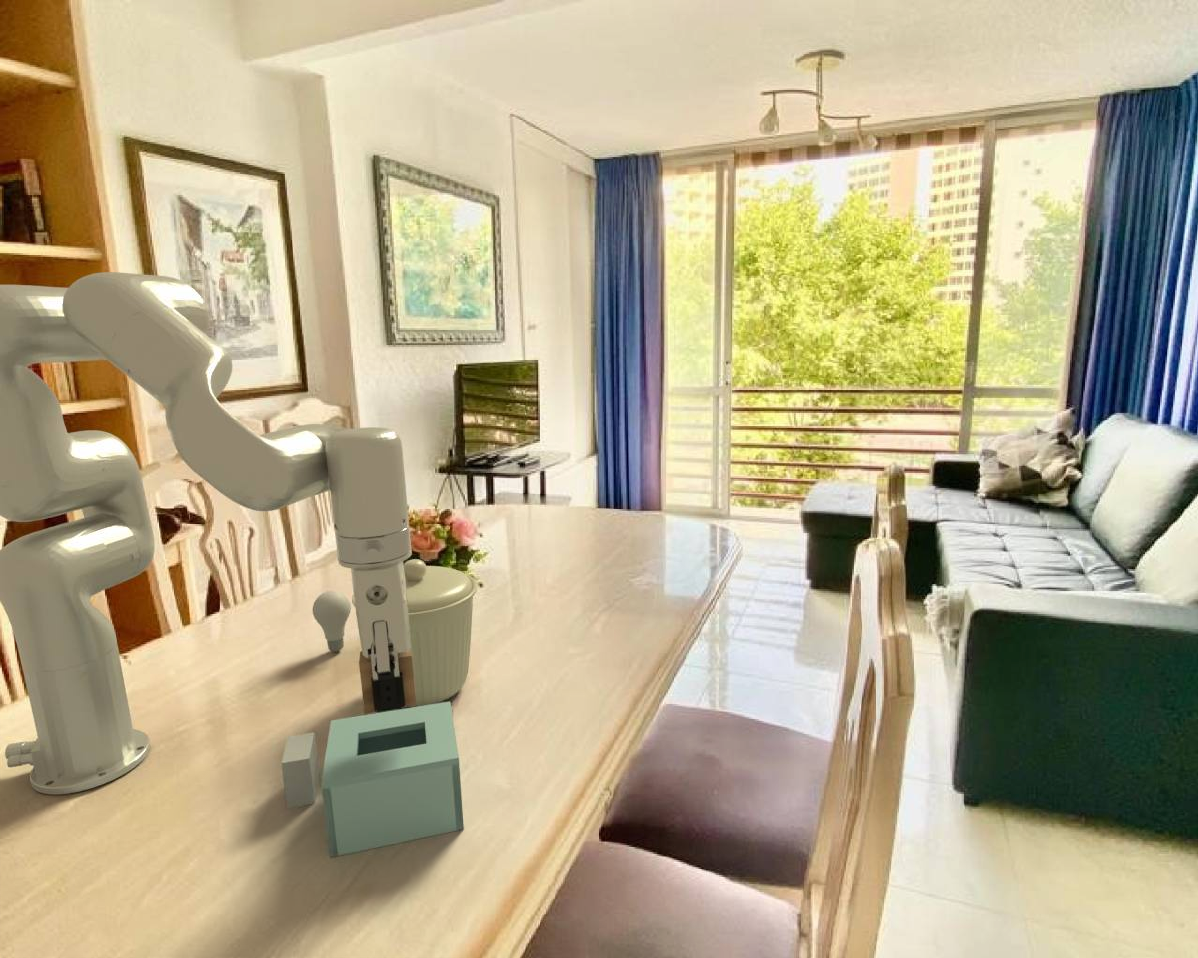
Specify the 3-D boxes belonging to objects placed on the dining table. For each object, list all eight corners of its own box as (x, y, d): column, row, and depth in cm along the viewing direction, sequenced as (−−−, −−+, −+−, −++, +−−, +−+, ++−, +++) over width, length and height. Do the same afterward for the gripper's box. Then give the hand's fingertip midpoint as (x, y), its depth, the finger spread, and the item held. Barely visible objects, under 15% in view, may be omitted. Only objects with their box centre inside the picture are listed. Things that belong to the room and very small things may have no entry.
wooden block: (364, 713, 75) (359, 663, 74) (365, 700, 78) (360, 651, 77) (416, 704, 77) (411, 655, 76) (415, 691, 80) (411, 643, 78)
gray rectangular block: (314, 803, 81) (309, 758, 80) (287, 808, 81) (281, 763, 79) (319, 774, 87) (314, 732, 85) (293, 779, 86) (288, 736, 84)
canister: (359, 732, 96) (344, 589, 91) (364, 671, 112) (352, 548, 108) (490, 710, 100) (482, 573, 96) (476, 655, 117) (468, 536, 113)
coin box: (330, 857, 73) (321, 782, 71) (338, 786, 84) (330, 720, 82) (463, 828, 77) (458, 757, 75) (454, 764, 88) (450, 701, 86)
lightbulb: (342, 660, 116) (336, 599, 114) (310, 658, 117) (303, 597, 115) (361, 644, 122) (356, 586, 119) (330, 642, 123) (324, 584, 121)
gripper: (412, 564, 67) (428, 734, 71) (409, 521, 82) (421, 662, 86) (330, 574, 65) (350, 748, 69) (342, 527, 80) (358, 672, 84)
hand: (390, 698), depth 77 cm, fingers closed on wooden block, 3 cm apart
